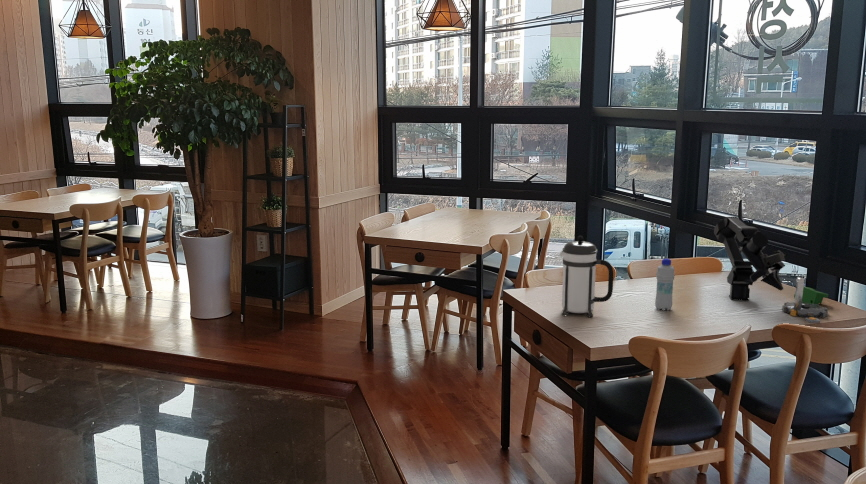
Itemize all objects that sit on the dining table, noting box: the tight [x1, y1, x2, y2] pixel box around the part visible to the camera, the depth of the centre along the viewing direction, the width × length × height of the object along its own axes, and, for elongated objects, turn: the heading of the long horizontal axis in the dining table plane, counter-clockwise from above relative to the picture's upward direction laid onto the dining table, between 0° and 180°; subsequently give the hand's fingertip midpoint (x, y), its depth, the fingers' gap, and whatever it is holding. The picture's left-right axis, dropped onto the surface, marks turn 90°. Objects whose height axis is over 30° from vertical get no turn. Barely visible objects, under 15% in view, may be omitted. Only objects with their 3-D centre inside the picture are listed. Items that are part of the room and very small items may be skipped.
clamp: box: [793, 285, 829, 305], centre depth 283 cm, size 12×6×9 cm, turn 6°
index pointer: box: [804, 317, 821, 324], centre depth 259 cm, size 4×3×1 cm
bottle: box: [654, 258, 676, 312], centre depth 273 cm, size 7×7×20 cm
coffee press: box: [558, 235, 614, 318], centre depth 269 cm, size 17×16×30 cm
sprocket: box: [781, 277, 829, 319], centre depth 268 cm, size 15×15×14 cm
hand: (782, 289), depth 270 cm, fingers closed
